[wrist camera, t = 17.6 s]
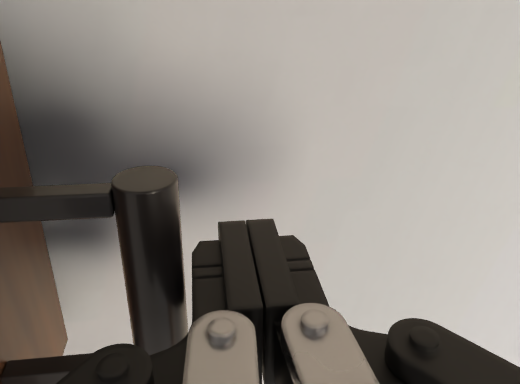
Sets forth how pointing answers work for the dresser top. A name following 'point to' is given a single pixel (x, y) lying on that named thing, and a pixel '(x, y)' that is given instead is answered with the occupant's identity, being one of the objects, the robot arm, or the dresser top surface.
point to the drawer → (39, 267)
